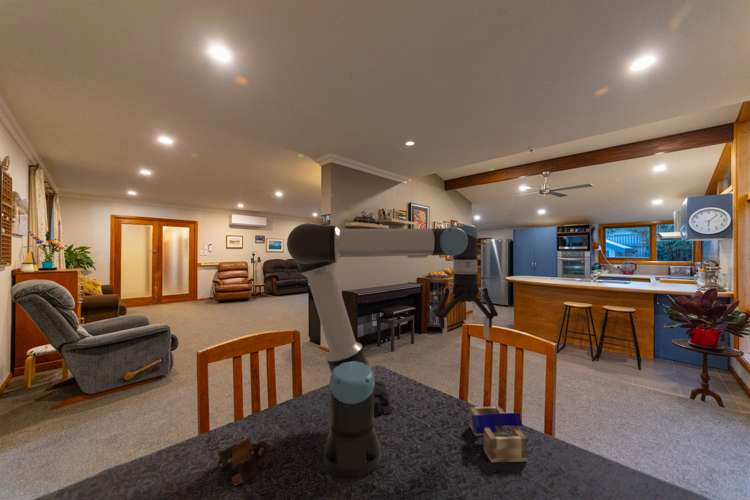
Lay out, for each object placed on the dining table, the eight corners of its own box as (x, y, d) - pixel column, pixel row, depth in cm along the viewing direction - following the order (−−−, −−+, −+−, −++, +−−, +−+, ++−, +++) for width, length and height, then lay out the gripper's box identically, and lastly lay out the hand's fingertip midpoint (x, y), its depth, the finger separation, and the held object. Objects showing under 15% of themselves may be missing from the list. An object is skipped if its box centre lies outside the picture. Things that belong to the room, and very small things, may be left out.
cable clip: (474, 432, 86) (481, 434, 81) (471, 415, 88) (477, 415, 83) (514, 430, 87) (524, 431, 81) (510, 412, 89) (519, 413, 83)
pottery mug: (220, 496, 67) (211, 457, 70) (226, 486, 75) (218, 452, 78) (273, 466, 72) (264, 431, 75) (274, 460, 80) (265, 428, 83)
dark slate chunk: (389, 387, 121) (389, 375, 121) (392, 417, 99) (392, 403, 99) (352, 387, 121) (352, 375, 121) (346, 417, 99) (346, 403, 99)
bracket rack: (491, 462, 77) (491, 439, 77) (469, 426, 93) (469, 406, 93) (527, 461, 77) (527, 438, 77) (499, 425, 93) (499, 406, 93)
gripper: (429, 273, 92) (429, 342, 92) (508, 273, 93) (509, 341, 93) (424, 272, 100) (425, 335, 100) (498, 271, 100) (498, 334, 100)
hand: (465, 338), depth 96 cm, fingers open, 13 cm apart
